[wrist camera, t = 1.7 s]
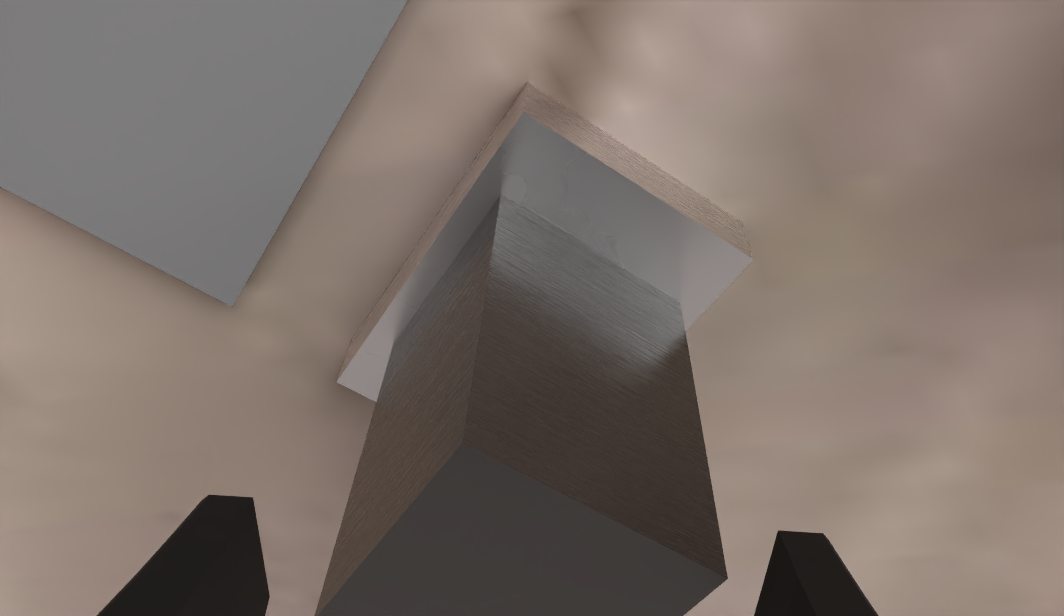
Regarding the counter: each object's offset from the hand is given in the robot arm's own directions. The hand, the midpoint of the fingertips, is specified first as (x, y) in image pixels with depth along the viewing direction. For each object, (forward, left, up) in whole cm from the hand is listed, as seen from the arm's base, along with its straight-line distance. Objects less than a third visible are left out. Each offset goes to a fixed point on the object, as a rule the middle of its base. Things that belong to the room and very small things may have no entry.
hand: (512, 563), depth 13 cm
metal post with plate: (0, 0, -7) cm, 7 cm away
